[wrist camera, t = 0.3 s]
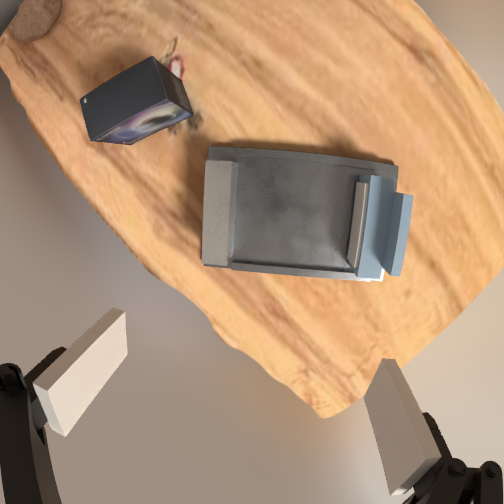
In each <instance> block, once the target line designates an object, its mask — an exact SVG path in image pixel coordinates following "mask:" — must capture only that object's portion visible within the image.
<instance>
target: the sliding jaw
mask: <svg viewBox="0 0 504 504" xmlns="http://www.w3.org/2000/svg"><path fill="white" fill-rule="evenodd" d="M394 182H395V179H391V178H385V177H379V176H373V175H359V182H356V192H355V202H354V211H353V219H352V227H351V235H350V242H349V249H348V255H347V259H348V260H349V264H348V265H349V266H350V268H351V269H352V271H353V272H354V273H355V275H356V276H357V277H358V278H372V279H380V277H381V272H382V267H383V268H384V269H385V270H386V271H387V272H388V273H389V274H390V275H391V276H400V274H401V269H402V264H403V259H404V254H405V249H406V243H407V237H408V231H409V224H410V217H411V210H412V202H413V196H412V195H408V194H403V193H398V192H394Z"/></svg>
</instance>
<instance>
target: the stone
mask: <svg viewBox="0 0 504 504" xmlns="http://www.w3.org/2000/svg"><path fill="white" fill-rule="evenodd" d="M60 10H61V0H24V2H22V3H21V4H20V6H19V10H18V13H17V16H16V18H15V20H14V23H13V25H12V26H13V27H12V32H13V36H14V37H15V38H17V39H18V40H19V41H21V42H22V43H27V42H30V41H34V40H35V39H37V38H41V37H42V36H44V35H45V34H46V33H47V32H48V30H49V29H50V28H51V26H52V24H53V23H54V22H55V21H56V19H57V18H58V15H59V12H60Z"/></svg>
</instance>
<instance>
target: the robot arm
mask: <svg viewBox="0 0 504 504" xmlns="http://www.w3.org/2000/svg"><path fill="white" fill-rule="evenodd" d="M126 356H127V341H126V320H125V311H122V310H118V309H115V308H112V309H111V310H110V311H108V312H107V313H106V314H105V315H104V316H103V317H102V318H101V319H100V320H98V321H97V322H96V323H95V324H94V325H93V326H92V327H91V328H90V329H88V330H87V331H86V332H85V333H84V334H83V335H82V336H81V337H80V338H79V339H78V340H77V341H75V342H74V343H73V344H72V345H71V346H70V347H69V348H68V349H66V348H64V347H60V348H58V349H55V350H53V351H52V352H51V353H49V354H48V355H47V356H46V358H44V359H43V360H42V361H41V362H40V363H38V365H37V366H35V367H34V368H33V369H32V370H31V371H30V372H29V373H28V374H27V375H26V376H25V377H23V375H22V372H21V369H20V368H19V367H18V366H17V365H15V364H12V363H5V364H2V365H0V467H1V476H2V484H3V491H4V497H5V503H6V504H62V503H61V499H60V496H59V493H58V489H57V485H56V481H55V478H54V473H53V469H52V464H51V459H50V454H49V449H48V444H47V438H46V432H45V428H44V425H45V423H46V422H47V421H48V423H49V425H50V427H51V429H53V430H54V431H56V432H57V433H59V434H61V435H63V436H65V437H66V436H67V434H68V433H69V432H70V430H71V429H72V427H73V426H74V425H75V423H76V422H77V421H78V419H79V417H80V416H81V415H82V414H83V412H84V411H85V410H86V408H87V407H88V406H89V404H90V403H91V402H92V400H93V399H94V398H95V396H96V395H97V394H98V392H99V391H100V390H101V388H102V387H103V386H104V384H105V383H106V382H107V380H108V379H109V378H110V376H111V375H112V374H113V373H114V371H115V370H116V368H117V367H118V366H119V365H120V363H121V362H122V361H123V360H124V358H125V357H126ZM364 400H365V403H366V407H367V410H368V414H369V417H370V420H371V424H372V427H373V431H374V434H375V438H376V442H377V445H378V449H379V453H380V456H381V460H382V464H383V468H384V472H385V476H386V480H387V484H388V488H389V492H390V496H392V495H399V494H405V493H406V492H408V491H409V489H411V488H412V487H413V488H414V491H415V492H414V493H413V494H412V495H411V496H410V497H409V498H408V499H406V500H405V501H404V502H403V503H402V504H406V503H407V504H503V478H502V470H501V467H500V466H499V465H498V464H497V463H496V462H494V461H487V462H485V463H484V464H483V465H482V466H481V467H480V468H467V466H466V465H465V463H464V462H463V461H461V460H460V459H457V458H452V456H451V454H450V451H449V449H448V447H447V445H446V443H445V440H444V438H443V436H442V435H441V432H440V430H439V429H438V426H437V424H436V422H435V420H434V419H433V418H432V417H431V415H429V413H426V412H425V413H422V412H421V410H420V408H419V406H418V404H417V402H416V399H415V397H414V396H413V394H412V391H411V389H410V387H409V385H408V384H407V381H406V380H405V378H404V376H403V374H402V372H401V370H400V368H399V366H398V364H397V362H396V360H395V359H385V358H382V360H381V362H380V365H379V367H378V369H377V371H376V373H375V375H374V378H373V380H372V382H371V384H370V386H369V388H368V390H367V392H366V394H365V396H364Z"/></svg>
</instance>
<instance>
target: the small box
mask: <svg viewBox="0 0 504 504" xmlns="http://www.w3.org/2000/svg"><path fill="white" fill-rule="evenodd" d="M80 104H81V108H82V113H83V116H84V120H85V124H86V128H87V132H88V135H89V139H90V141H97V142H107V143H116V144H125V145H132V144H134V143H136V142H138V141H140V140H142V139H144V138H146V137H148V136H150V135H152V134H154V133H156V132H158V131H160V130H162V129H164V128H167V127H169V126H171V125H173V124H175V123H178V122H180V121H182V120H185V119H187V118H189V117H192V116H193V112H192V109H191V106H190V103H189V100H188V97H187V94H186V92H185V89H184V86H183V83H182V80H180V79H178V78H177V77H176V76H175V75H174V74H173V73H171V72H170V71H169V70H168V69H167V68H166V67H164V66H163V65H162V64H161V63H159V61H157V60H156V59H155V58H154V57H153V56H151V57H149V58H147V59H145V60H143V61H141V62H140V63H138V64H136V65H134V66H132V67H130V68H129V69H127V70H125V71H123V72H122V73H120V74H118V75H116V76H115V77H113V78H111V79H110V80H108V81H107V82H105V83H103V84H102V85H100V86H99V87H97V88H96V89H94V90H92V91H91V92H89V93H88V94H87V95H85V96H84V97H82V98H81V99H80Z"/></svg>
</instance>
